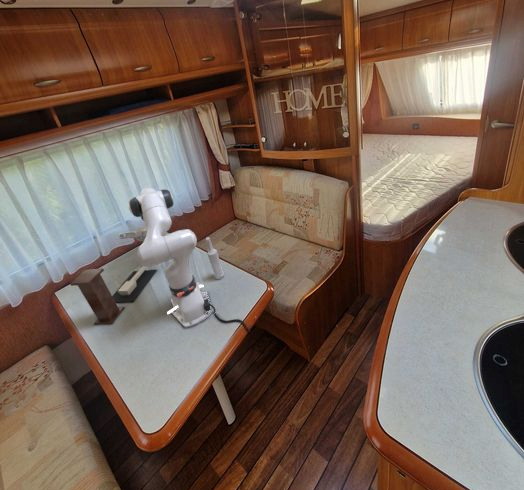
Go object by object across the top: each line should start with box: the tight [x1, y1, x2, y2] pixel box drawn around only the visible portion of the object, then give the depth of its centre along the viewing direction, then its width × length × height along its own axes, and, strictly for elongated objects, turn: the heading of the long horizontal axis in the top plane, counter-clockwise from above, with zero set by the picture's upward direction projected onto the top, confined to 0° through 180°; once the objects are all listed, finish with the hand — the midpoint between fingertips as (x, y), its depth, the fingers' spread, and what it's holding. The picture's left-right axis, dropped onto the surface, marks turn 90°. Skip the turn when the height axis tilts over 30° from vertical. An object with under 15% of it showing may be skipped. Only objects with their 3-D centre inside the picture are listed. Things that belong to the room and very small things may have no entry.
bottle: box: [205, 236, 225, 281], centre depth 144 cm, size 5×5×25 cm
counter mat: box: [112, 269, 157, 304], centre depth 156 cm, size 26×16×1 cm, turn 172°
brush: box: [117, 265, 148, 295], centre depth 158 cm, size 22×6×3 cm, turn 171°
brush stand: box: [69, 267, 125, 325], centre depth 132 cm, size 10×10×26 cm
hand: (127, 234), depth 156 cm, fingers open, 8 cm apart
